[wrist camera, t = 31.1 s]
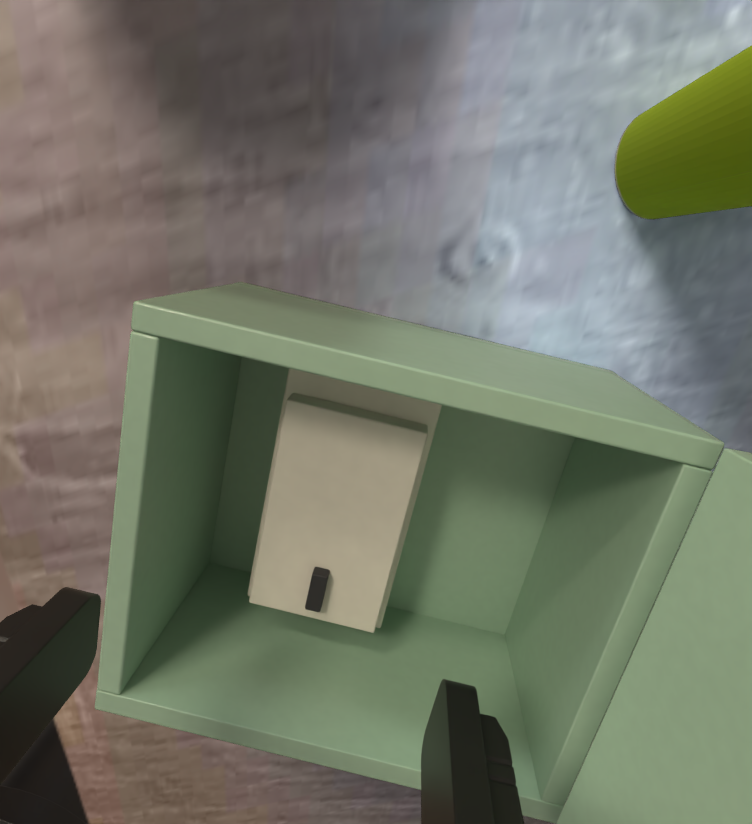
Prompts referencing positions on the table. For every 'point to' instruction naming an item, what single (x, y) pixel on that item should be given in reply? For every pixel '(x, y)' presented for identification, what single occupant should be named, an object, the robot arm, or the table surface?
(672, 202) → the vape
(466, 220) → the table surface
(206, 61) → the table surface
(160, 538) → the box
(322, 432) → the white power adapter
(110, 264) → the table surface
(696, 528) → the lid
